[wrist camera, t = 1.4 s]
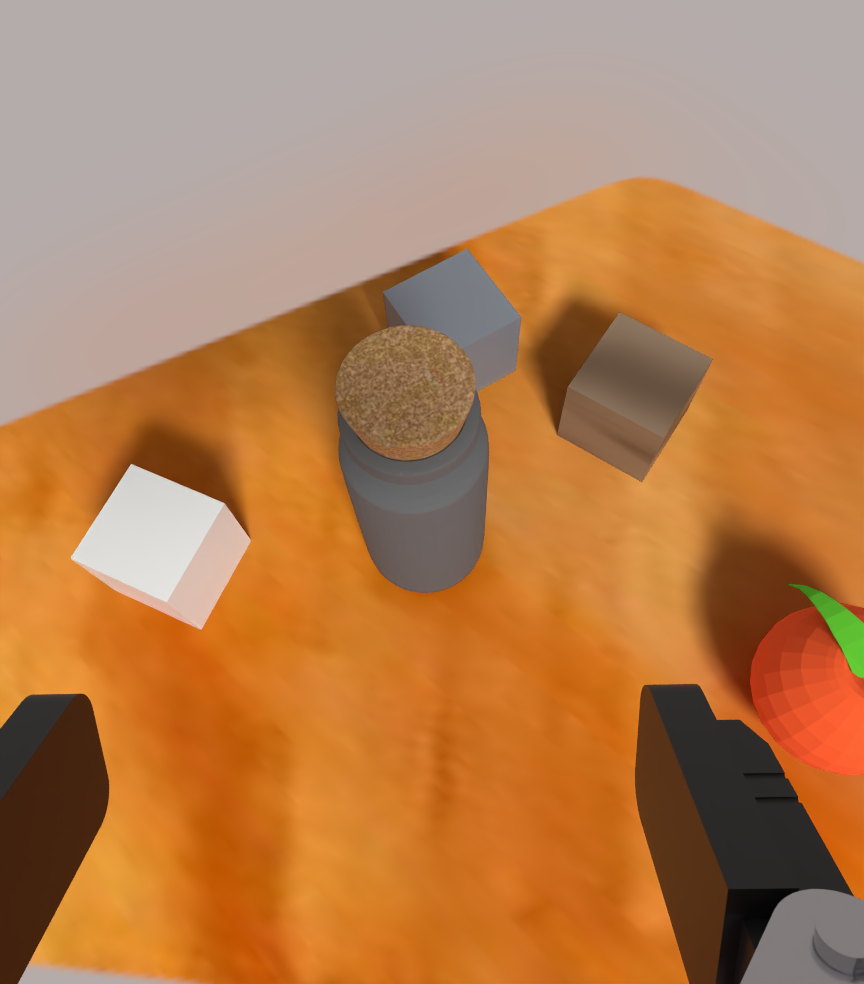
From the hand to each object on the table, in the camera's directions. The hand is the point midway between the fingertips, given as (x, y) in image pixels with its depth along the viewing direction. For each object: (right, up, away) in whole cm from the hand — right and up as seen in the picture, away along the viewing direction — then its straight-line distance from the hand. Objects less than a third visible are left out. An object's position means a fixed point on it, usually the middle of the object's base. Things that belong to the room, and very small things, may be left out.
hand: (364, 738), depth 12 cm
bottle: (+1, +1, +29) cm, 29 cm away
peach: (+18, -5, +26) cm, 32 cm away
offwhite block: (-11, 0, +29) cm, 31 cm away
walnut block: (+11, +7, +31) cm, 34 cm away
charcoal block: (+2, +11, +33) cm, 35 cm away
